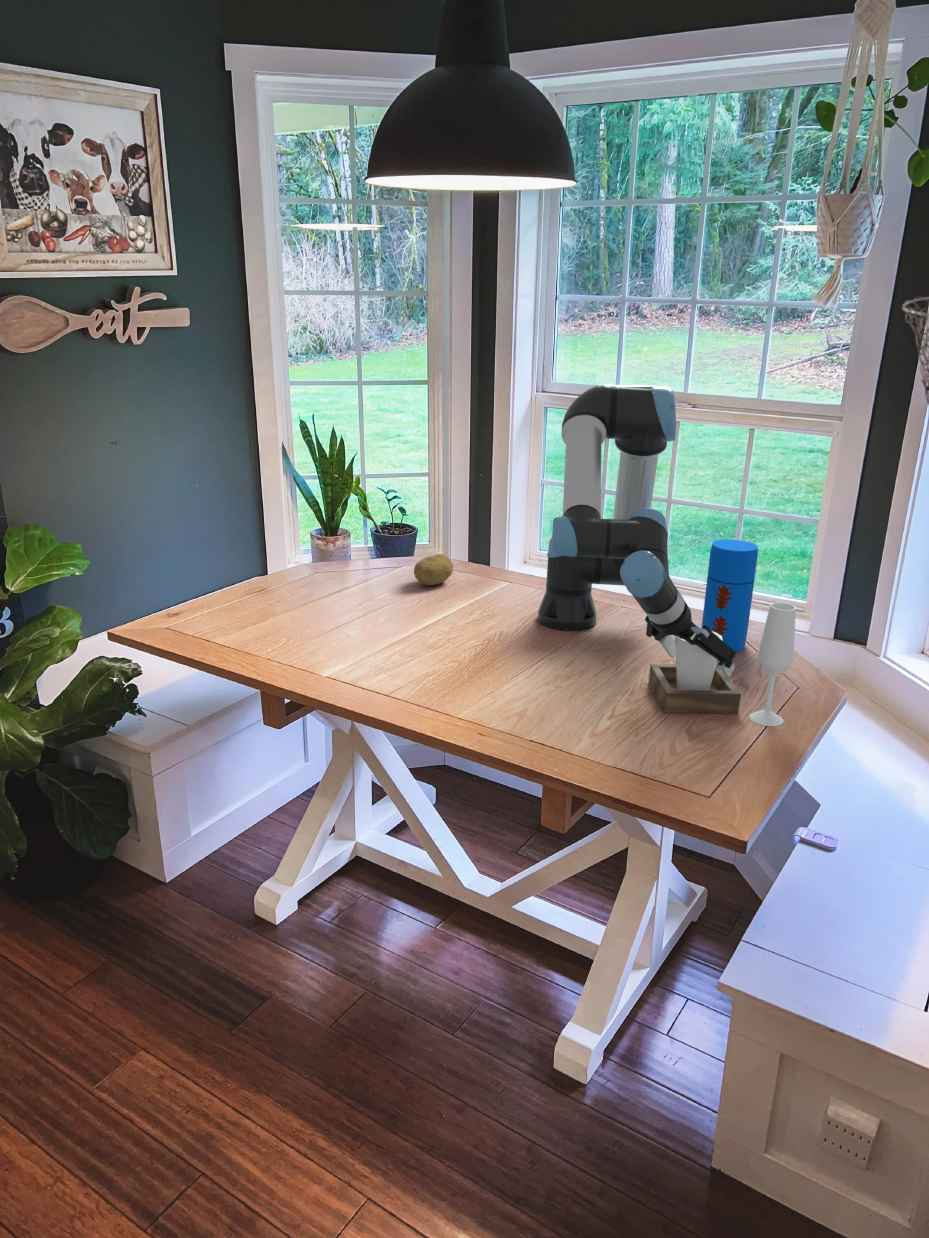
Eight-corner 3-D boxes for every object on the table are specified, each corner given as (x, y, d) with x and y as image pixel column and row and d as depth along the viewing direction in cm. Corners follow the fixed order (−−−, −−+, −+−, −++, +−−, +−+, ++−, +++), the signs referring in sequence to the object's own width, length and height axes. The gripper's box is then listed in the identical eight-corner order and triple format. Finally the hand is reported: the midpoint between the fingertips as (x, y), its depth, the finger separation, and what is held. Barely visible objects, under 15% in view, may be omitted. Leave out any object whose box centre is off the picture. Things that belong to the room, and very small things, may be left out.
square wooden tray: (648, 683, 195) (650, 664, 194) (716, 683, 196) (718, 664, 194) (665, 713, 181) (667, 693, 180) (738, 713, 182) (740, 693, 180)
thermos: (694, 646, 216) (706, 547, 208) (705, 633, 225) (716, 537, 217) (740, 655, 211) (754, 553, 203) (749, 641, 220) (763, 543, 212)
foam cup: (665, 698, 186) (671, 640, 181) (673, 681, 194) (679, 625, 190) (712, 706, 182) (719, 647, 178) (718, 689, 191) (725, 632, 186)
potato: (404, 586, 256) (403, 560, 253) (433, 575, 267) (433, 549, 264) (431, 593, 251) (431, 566, 248) (460, 581, 262) (460, 555, 259)
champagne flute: (745, 710, 183) (761, 599, 175) (779, 712, 183) (796, 601, 175) (752, 725, 177) (768, 611, 169) (787, 727, 177) (805, 613, 168)
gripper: (606, 608, 180) (644, 659, 195) (713, 643, 163) (746, 695, 178) (624, 578, 182) (661, 630, 197) (732, 610, 165) (764, 664, 180)
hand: (702, 661), depth 188 cm, fingers open, 13 cm apart
